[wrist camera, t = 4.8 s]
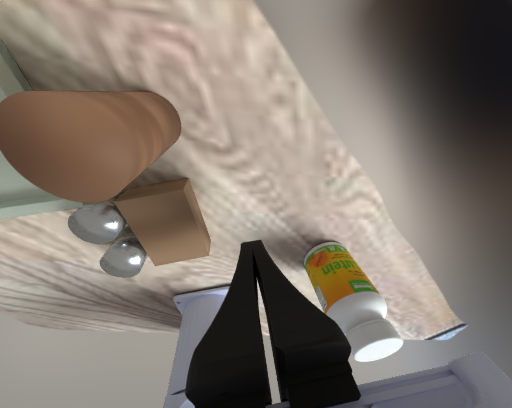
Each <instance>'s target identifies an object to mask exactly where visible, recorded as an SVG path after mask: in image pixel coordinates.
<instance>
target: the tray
mask: <svg viewBox="0 0 512 408" xmlns="http://www.w3.org/2000/svg"><path fill="white" fill-rule="evenodd" d="M23 91H33V89H32V88H31V86H30V84H29V83H28V81H27V80H26V78H25V77H24V75H23V73H22V72H21V70H20V69H19V67H18V65H17V64H16V62H15V61H14V59H13V57H12V56H11V54H10V53H9V51H8V50H7V48H6V46H5V45H4V43H3V42H2V40H0V102H1V101H2V100H4V99H5V98H7V97H8V96H10V95H12V94H15V93H19V92H23ZM85 204H86V203H82V202H75V201H70V200H66V199H63V198H60V197H57V196H54V195H52V194H50V193H48V192H46V191H44V190H42V189H40V188H38V187H37V186H35V185H34V184H32V183H31V182H29V181H28V180H27V179H25V178H24V177H23V176H22V175H21V174H19V173H18V172H17V171H16V170H15V169H14V168H13V167H12V166H11V164H10V163H9V162H8V161H7V159H6V158H5V157H4V155H3V154H2V152H1V151H0V219H5V218H11V217H18V216H25V215H32V214H39V213H46V212H53V211H59V210H66V209H73V208H80V207H82V206H84V205H85Z"/></svg>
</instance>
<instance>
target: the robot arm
mask: <svg viewBox="0 0 512 408" xmlns="http://www.w3.org/2000/svg"><path fill="white" fill-rule="evenodd" d="M257 280H258V284H259V288H260V292H261V296H262V299H263V303H264V307H265V312H266V316H267V322H268V328H269V334H270V340H271V346H272V351H273V357H274V363H275V369H276V375H277V381H278V387H279V393H280V399H281V403H276V404H272V398H271V392H270V385H269V378H268V371H267V365H266V358H265V351H264V344H263V339H262V338H263V337H262V331H261V324H260V317H259V306H258V290H257ZM173 301H174V303H175V305H176V307H177V308H178V310H179V312H180V313H181V315H182V322H181V327H180V332H179V338H178V342H177V347H176V352H175V357H174V361H173V367H172V371H171V376H170V381H169V386H168V391H167V396H166V397H165V402H164V406H163V408H512V381H511V380H510V379H509V378H508V377H507V376H506V375H505V374H504V373H503V372H502V371H501V370H500V369H499V368H498V367H497V366H496V365H495V364H494V363H493V362H492V361H491V360H490V359H489V358H488V357H487V356H486V355H485V354H484V353H483V352H476V353H471V354H467V355H462V356H459V357H456V358H454V359H452V360H451V361H450V362H449V363H448V365H445V366H441V367H437V368H432V369H428V370H423V371H419V372H415V373H410V374H406V375H401V376H396V377H392V378H388V379H384V380H379V381H374V382H370V383H365V384H361V385H356V382H355V380H354V378H353V376H352V369H351V366H350V364H349V362H348V358H349V356H350V353H351V348H352V347H351V345H350V343H349V341H348V339H347V338H346V336H345V334H344V333H343V331H342V330H341V328H340V327H339V325H338V324H337V323H336V322H335V321H334V320H333V319H331V318H330V317H329V316H327V315H326V314H325V313H323V312H322V311H321V310H320V309H318V308H317V307H316V306H315V305H314V304H312V303H311V302H310V301H309V300H308V299H307V298H306V297H305V296H304V295H303V294H301V293H300V292H299V291H298V290H297V289H296V288H295V287H294V286H293V285H292V284H291V282H290V281H289V280H288V279H287V278H286V277H285V276H284V275H283V273H282V272H281V271H280V270H279V268H278V267H277V266H276V264H275V263H274V261H273V260H272V259H271V257H270V256H269V254H268V252H267V251H266V249H265V247H264V245H263V243H262V241H261V240H256V241H250V242H244V243H242V244H241V249H240V255H239V260H238V263H237V267H236V271H235V273H234V276H233V279H232V282H231V285H230V286H227V287H221V288H215V289H210V290H204V291H198V292H193V293H187V294H181V295H176V296H174V298H173Z"/></svg>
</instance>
